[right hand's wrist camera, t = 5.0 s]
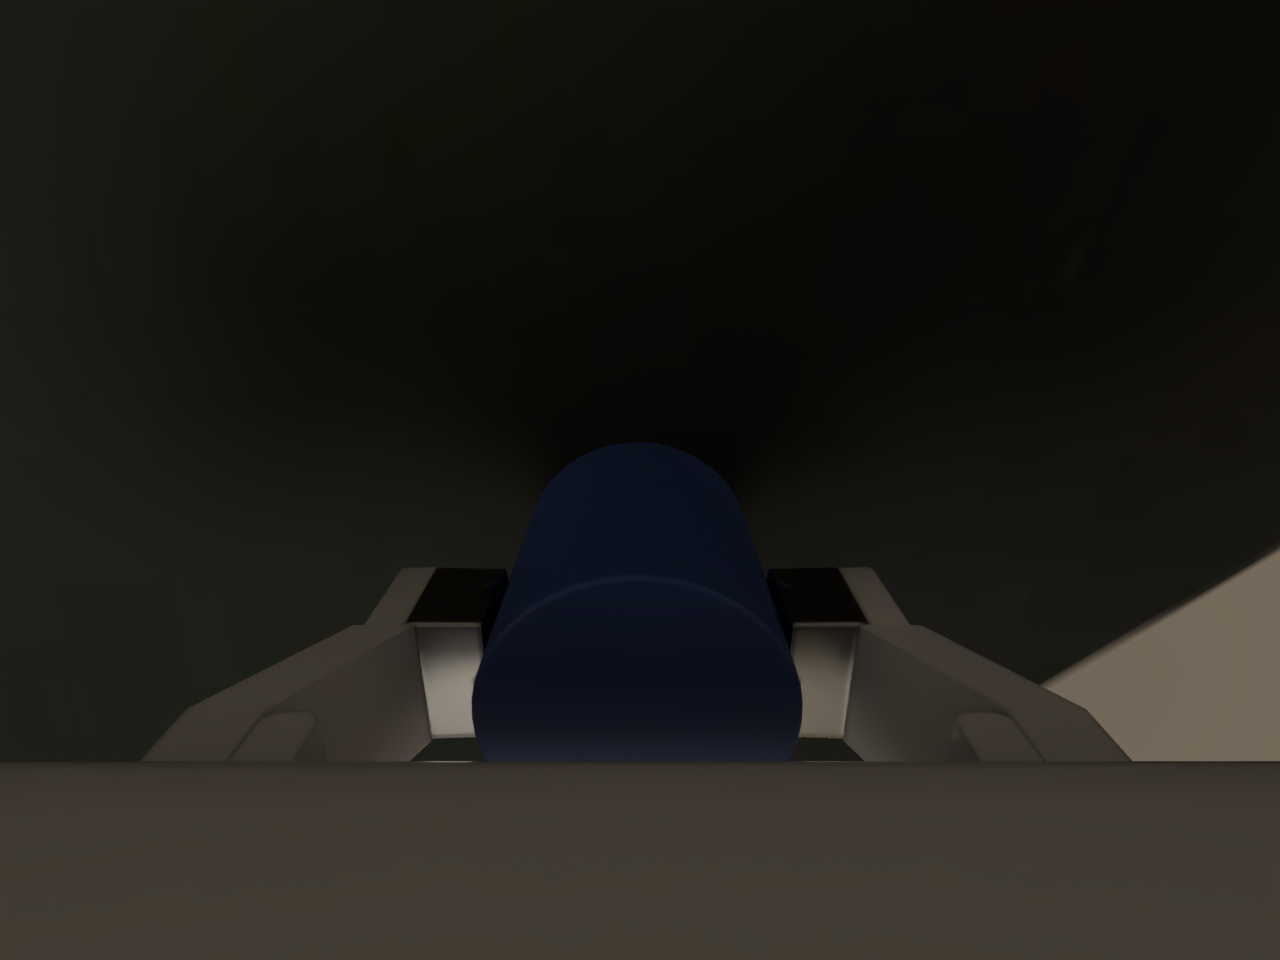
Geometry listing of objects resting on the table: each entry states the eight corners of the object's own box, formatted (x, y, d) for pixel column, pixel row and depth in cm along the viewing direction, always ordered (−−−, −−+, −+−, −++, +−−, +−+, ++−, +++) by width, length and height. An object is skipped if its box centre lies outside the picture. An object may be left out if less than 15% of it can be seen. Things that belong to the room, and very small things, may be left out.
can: (641, 394, 11) (641, 507, 7) (790, 545, 12) (871, 726, 8) (484, 541, 12) (400, 719, 8) (635, 669, 13) (634, 889, 9)
